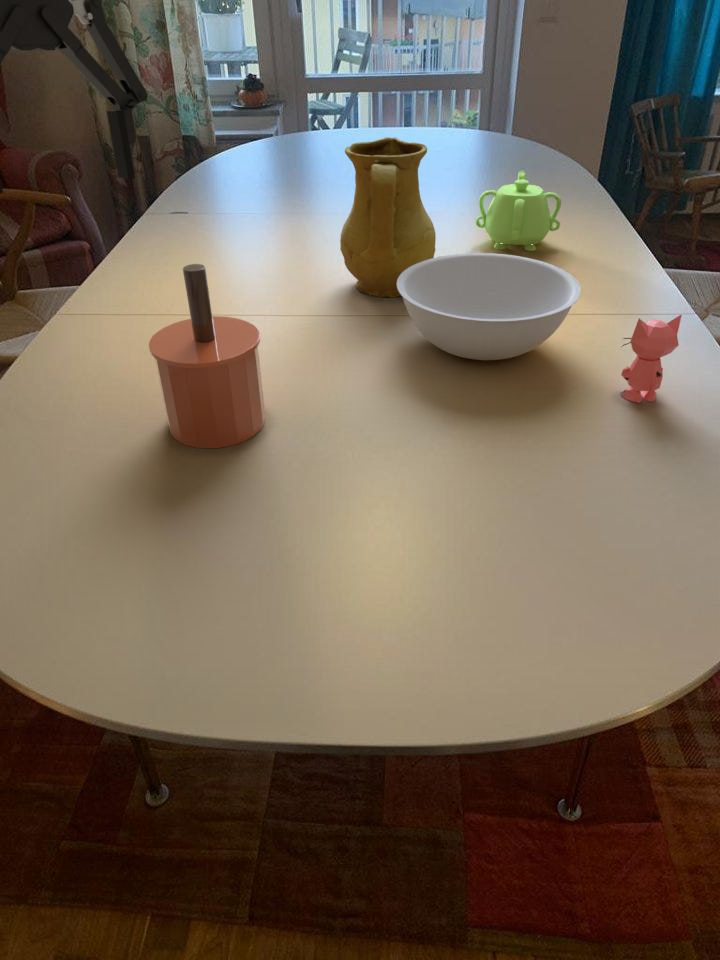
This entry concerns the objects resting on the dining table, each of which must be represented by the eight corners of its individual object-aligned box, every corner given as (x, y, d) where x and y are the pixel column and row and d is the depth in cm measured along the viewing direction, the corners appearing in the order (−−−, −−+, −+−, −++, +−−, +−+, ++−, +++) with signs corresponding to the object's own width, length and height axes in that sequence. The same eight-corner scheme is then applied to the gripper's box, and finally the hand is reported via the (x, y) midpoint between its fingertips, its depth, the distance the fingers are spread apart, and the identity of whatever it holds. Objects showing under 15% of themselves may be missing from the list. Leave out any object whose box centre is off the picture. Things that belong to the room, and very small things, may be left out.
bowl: (565, 396, 102) (577, 330, 96) (376, 374, 108) (376, 310, 103) (574, 318, 123) (584, 260, 118) (415, 304, 130) (417, 247, 124)
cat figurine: (653, 383, 105) (672, 303, 98) (677, 407, 99) (700, 324, 92) (606, 388, 104) (622, 307, 97) (628, 412, 99) (647, 329, 92)
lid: (138, 373, 86) (119, 289, 80) (164, 325, 97) (150, 248, 91) (253, 372, 86) (243, 288, 80) (266, 324, 97) (259, 247, 91)
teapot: (463, 237, 159) (467, 176, 152) (516, 226, 164) (522, 167, 157) (509, 259, 147) (515, 194, 140) (564, 247, 153) (573, 183, 145)
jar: (159, 448, 93) (142, 366, 86) (180, 399, 103) (166, 322, 97) (258, 448, 93) (248, 365, 86) (269, 398, 103) (262, 321, 96)
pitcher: (453, 277, 138) (454, 134, 123) (399, 315, 127) (392, 163, 112) (379, 262, 147) (371, 127, 132) (321, 297, 136) (305, 154, 120)
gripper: (125, -54, 75) (160, 170, 85) (-158, -73, 62) (-76, 195, 72) (157, -66, 70) (190, 174, 80) (-144, -90, 56) (-59, 202, 67)
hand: (64, 185), depth 76 cm, fingers open, 13 cm apart
